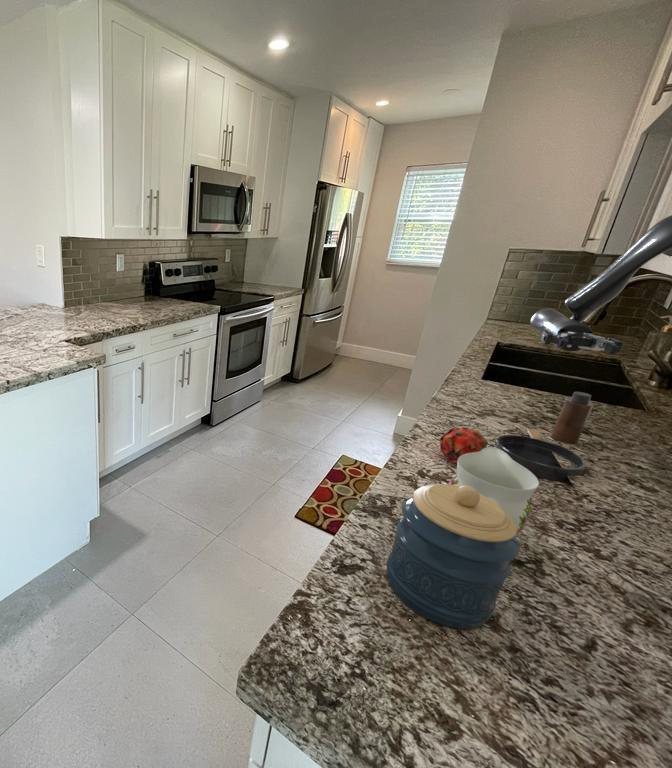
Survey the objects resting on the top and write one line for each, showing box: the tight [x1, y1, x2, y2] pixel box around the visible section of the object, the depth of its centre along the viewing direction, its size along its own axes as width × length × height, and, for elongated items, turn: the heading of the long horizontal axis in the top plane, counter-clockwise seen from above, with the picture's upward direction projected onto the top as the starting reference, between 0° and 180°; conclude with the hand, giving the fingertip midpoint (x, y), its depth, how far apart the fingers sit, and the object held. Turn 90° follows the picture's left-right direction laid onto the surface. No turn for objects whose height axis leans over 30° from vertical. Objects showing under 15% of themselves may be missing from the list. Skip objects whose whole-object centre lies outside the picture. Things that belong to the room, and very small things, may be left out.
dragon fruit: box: [438, 426, 489, 464], centre depth 92 cm, size 8×8×12 cm
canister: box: [386, 483, 521, 630], centre depth 56 cm, size 13×13×18 cm
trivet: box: [525, 427, 589, 441], centre depth 101 cm, size 12×12×1 cm
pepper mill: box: [550, 391, 594, 445], centre depth 99 cm, size 5×5×13 cm
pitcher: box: [447, 446, 540, 538], centre depth 67 cm, size 11×18×14 cm, turn 144°
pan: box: [493, 434, 588, 482], centre depth 92 cm, size 15×15×4 cm
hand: (589, 347), depth 99 cm, fingers open, 8 cm apart
